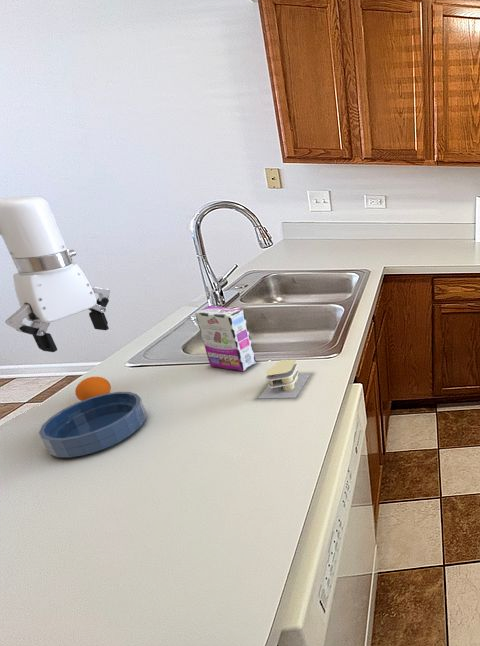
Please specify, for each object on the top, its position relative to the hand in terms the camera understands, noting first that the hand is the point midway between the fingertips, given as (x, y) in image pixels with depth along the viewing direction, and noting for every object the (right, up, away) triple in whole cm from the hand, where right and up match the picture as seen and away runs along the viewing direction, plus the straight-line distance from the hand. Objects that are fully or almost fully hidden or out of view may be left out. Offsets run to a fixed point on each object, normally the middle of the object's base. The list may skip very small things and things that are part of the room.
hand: (77, 339), depth 84 cm
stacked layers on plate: (+36, -14, +16) cm, 42 cm away
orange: (-6, -13, +10) cm, 17 cm away
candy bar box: (+17, -10, +25) cm, 32 cm away
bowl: (+5, -20, 0) cm, 20 cm away
